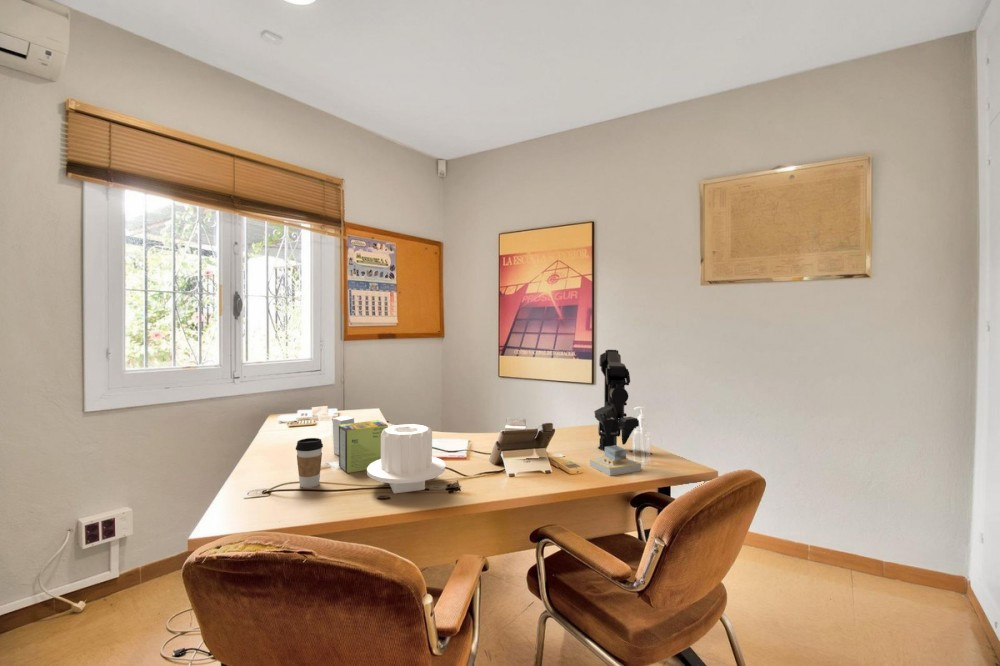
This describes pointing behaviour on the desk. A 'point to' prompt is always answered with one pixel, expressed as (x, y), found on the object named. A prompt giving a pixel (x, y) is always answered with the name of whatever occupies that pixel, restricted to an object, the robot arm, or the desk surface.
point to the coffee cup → (309, 461)
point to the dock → (615, 466)
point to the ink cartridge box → (515, 424)
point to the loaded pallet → (615, 455)
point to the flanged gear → (406, 458)
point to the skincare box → (336, 423)
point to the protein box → (360, 444)
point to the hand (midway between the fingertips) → (615, 441)
